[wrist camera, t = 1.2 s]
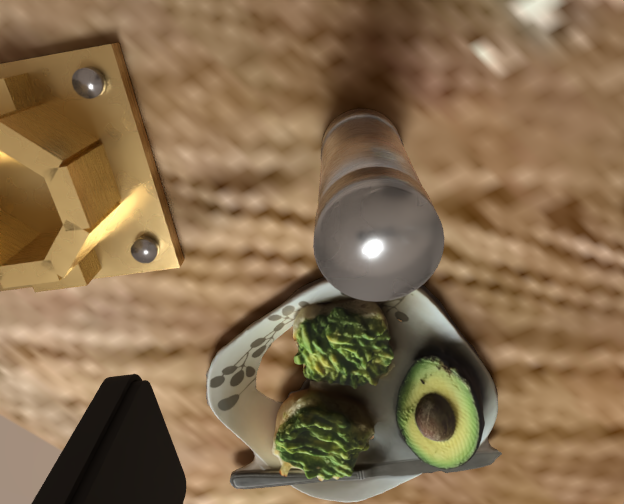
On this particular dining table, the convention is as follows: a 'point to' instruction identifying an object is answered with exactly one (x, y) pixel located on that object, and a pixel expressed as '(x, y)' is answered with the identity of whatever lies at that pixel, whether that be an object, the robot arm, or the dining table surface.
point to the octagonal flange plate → (77, 175)
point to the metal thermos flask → (373, 212)
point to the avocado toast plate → (357, 396)
